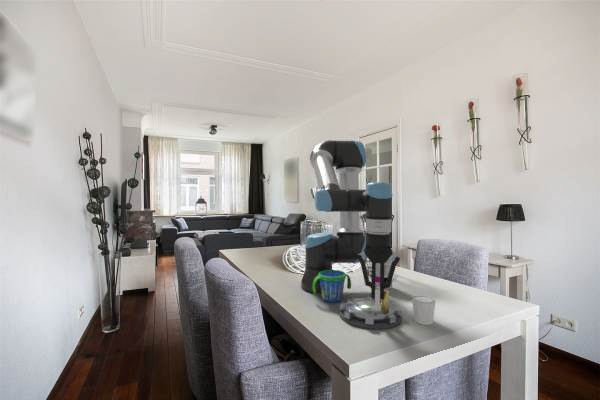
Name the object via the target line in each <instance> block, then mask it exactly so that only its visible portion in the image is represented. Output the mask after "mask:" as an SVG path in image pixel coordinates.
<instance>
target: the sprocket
mask: <svg viewBox="0 0 600 400" xmlns="http://www.w3.org/2000/svg"><path fill="white" fill-rule="evenodd" d="M389 290H390V289H389ZM389 290H385V289H384V299H380V311H375V299H372V298H371V296H366V297H353V296H351V297H348V298H347V301H346V302H340V303H339V311H340V310H342V311H345V317H346V318H348V319H353V318H354V319H357V320H360V321H365V324H371V325H374V322H376V323H377V322H388V323H390V324H391V323H394V322H396V316H401V317H402V309H401V307H395V306H394V302H393V301H391V300H390V291H389Z"/></svg>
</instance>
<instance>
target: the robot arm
mask: <svg viewBox="0 0 600 400" xmlns="http://www.w3.org/2000/svg"><path fill="white" fill-rule="evenodd" d="M310 152H311V153H310V156H309V160H310V165H311V167H312V168H313V170H314V173H315V178H316V183H317V187H318V189H316V190H315V193H314V205H315V206H314V207H315V210H316V211H318V212H325V213H329V212H330V213H331V212H333V213H335V212H339V229H338V230H337V231H336V235H333V233H332V232H330V231H329V232H316V233H312V234H309V235H307V236H306V237H305V246H304V248H305V260H304V261H305V263H304V264H305V265H304V268H305V269H304V272H303V276H302V278H301V281H300V288H301V289H302V290H304V291H306V292H310V293H314V292H313V289H312V286H313V281H314V279H315V277H316V276H318V274H319V272H321V271H324V270H333V264H359V263H360V267H361V271H362V274H363V280H364V284H365V286H366V287H369V288H370V291H371V292H370V297H371V298H372V299H375V311H380V300H381V299H384V289H385V288H389V287H390V285H391V282H392V283H393V278H394V275H395V270H396V267H397V265H398V263H399V262H400V260H401V258H400V255H396V254H395V253H393V249H392V235H391V233H392V224H391V221H392V220H391V214H392V211H393V210H392V207H393V203H392V202H393V187H392V184H391V183H389V182H369V183H367V184H366V189H360V179H359V178H360V177H359V175H360V173H361V172H362V171H363V168H365V166H366V163H367V152H366V148H365V145H364V144H363V142H362V141H358V140H357V141H356V140H330V139H329V140H324V141H321V142H320V143H318V144H317V145H316V146H314V148H313V149H312V150H311V151H310ZM334 167H335V168H334ZM336 173H337V174H338V177H339V180H338V178H337V175H336ZM360 213H366V222H365V223H366V224H365V225H366V226H365V231H366V232H368V233H367V234H366V233H365V236H364V230H363V229H362V228H361V224H360V223H361V221H360V219H361V218H360V216H361V214H360ZM392 215H393V214H392ZM389 233H390V234H389ZM366 257H367V259H368V261H371V262H370V263H371V267H372V268H371V271H372V272H371V274H370V276H371V279H370V278H369V275H368V273H367V269H368V268H367V269H366V267H367V264H365V259H366ZM390 257H392V258H391V260H392V263H391V266H390V270H389V274H388V277H387V281H386V283H384V263H386V262H387V260H388V259H389V258H390ZM376 263H380V287H375V277H376ZM315 288H316V293H321V286H320V280H319V279H318V280H317V282H316V283H315ZM321 294H322V293H321Z"/></svg>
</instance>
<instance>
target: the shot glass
mask: <svg viewBox="0 0 600 400" xmlns="http://www.w3.org/2000/svg"><path fill="white" fill-rule="evenodd" d="M412 310H413V320H414V322H415V323H418V324H420V325H426V326H427V325H429V326H430V325H432V324H433V323H434V318H435V317H434V316H435V311H436V300H435V299H434V298H432V297H429V296H424V295H423V296H422V295H417V296H416V295H415V296H413V297H412Z"/></svg>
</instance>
